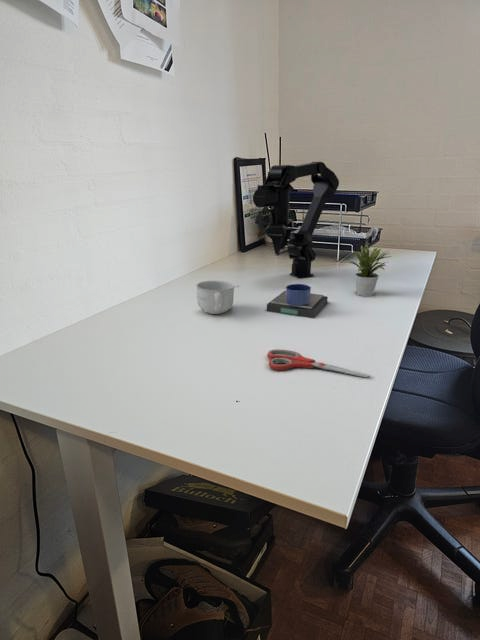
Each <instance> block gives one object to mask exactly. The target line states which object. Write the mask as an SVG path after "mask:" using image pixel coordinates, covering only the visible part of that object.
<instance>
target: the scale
mask: <svg viewBox="0 0 480 640" xmlns="http://www.w3.org/2000/svg"><path fill="white" fill-rule="evenodd" d="M285 291H286V290H284V291H282V292H281V293H280V294H278V295H277V296H276V297H274V298H273V299H272V300H271V301H269V302H268V303H266V312H272V313H279V314H284V315H285V314H286V315H292V316H299V317H305V318H311V319H312V318H313V319H314V318H315V317H316V316H317V315H318V314H319V312H320V311H322V309H323V308H324V307H325V306H326V305H327V304H328V298H329V296H327V295H324V297H323V298H322V299H321V300H320V301H319V302H318V303H317V304H316V305H315V306H314V307H313V308H312V309H307V308H300V307H293V306H286V305H278V304H271V302H272V301H273V300H274V299H275V298H277V297H278V296H279V295H281V294H282V293H283V292H285Z"/></svg>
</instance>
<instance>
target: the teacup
mask: <svg viewBox="0 0 480 640" xmlns="http://www.w3.org/2000/svg"><path fill="white" fill-rule="evenodd" d="M195 287H196V303H197V305H198V307H199V308H200V309H201V310H202V311H203V312H205V313H207V314H211V315H218V314H219V315H220V314H224V313H226V312H227V311H228V310H230V309H231V308H232V307H233V304H234V299H235V298H234V297H235V285H234V283H232V282H229V281H224V280H204V281H200V282H198V283H196V285H195Z"/></svg>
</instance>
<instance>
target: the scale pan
mask: <svg viewBox="0 0 480 640" xmlns="http://www.w3.org/2000/svg"><path fill="white" fill-rule="evenodd" d="M284 291H285V292H284ZM284 291H282V292H283V293H282V292H281V293H282V294H281V293H280V294H281V295H280V294H278V295H279V296H278V295H277V296H278V297H277V296H276V297H277V298H276V297H274V298H275V299H274V298H273V299H274V300H273V299H272V300H273V301H272V300H271V301H272V302H271V301H270V302H271V304H278V305H286V306H292V305H289V304H288V303H287V302H286V290H284ZM324 296H325V295H324V294H319V293H311V294H310V302H309V304H307V305H305V306H293V307H300V308H307V309H312V308H313V307H314V306H315V305H316V304H317V303H318V302H319V301H320V300H321V299H322V298H323V297H324Z"/></svg>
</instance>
